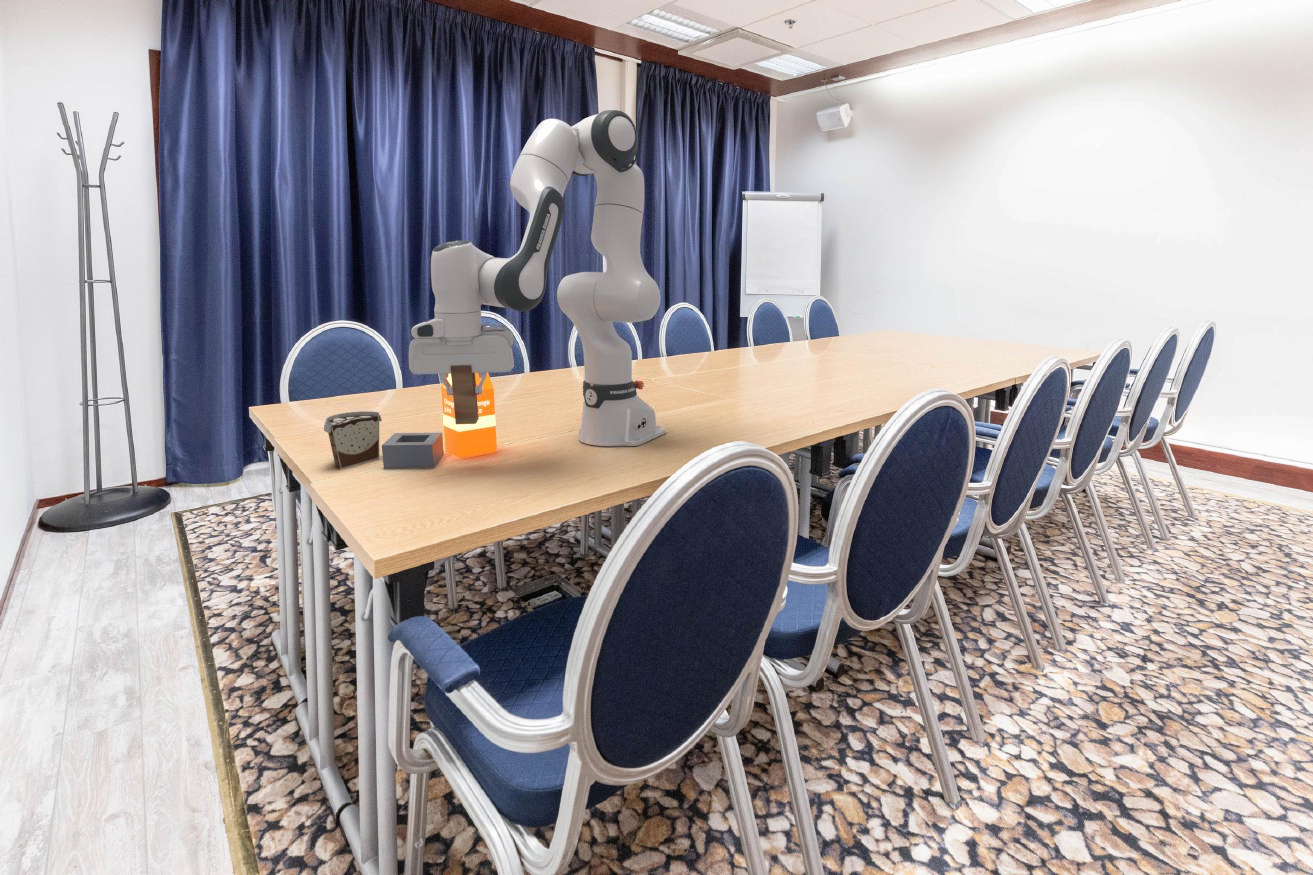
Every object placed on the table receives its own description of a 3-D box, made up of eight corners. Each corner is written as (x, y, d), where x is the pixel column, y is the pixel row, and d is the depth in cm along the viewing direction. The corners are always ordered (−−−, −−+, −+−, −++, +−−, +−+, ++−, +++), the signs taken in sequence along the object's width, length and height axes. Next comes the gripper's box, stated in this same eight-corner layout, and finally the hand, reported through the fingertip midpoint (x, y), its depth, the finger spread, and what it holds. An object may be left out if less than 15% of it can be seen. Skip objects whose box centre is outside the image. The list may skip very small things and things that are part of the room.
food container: (366, 452, 153) (362, 408, 150) (385, 456, 150) (381, 411, 147) (315, 466, 142) (309, 419, 140) (334, 471, 139) (328, 423, 137)
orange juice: (445, 451, 154) (438, 362, 149) (481, 444, 160) (476, 358, 155) (460, 458, 149) (455, 366, 144) (497, 451, 154) (493, 362, 149)
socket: (396, 455, 151) (394, 433, 150) (443, 454, 152) (442, 432, 150) (383, 468, 141) (381, 445, 140) (433, 468, 142) (432, 444, 141)
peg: (459, 419, 143) (454, 362, 140) (478, 418, 144) (474, 361, 141) (455, 424, 140) (450, 365, 136) (475, 423, 140) (471, 365, 137)
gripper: (514, 323, 140) (518, 389, 144) (410, 325, 138) (417, 392, 142) (510, 327, 134) (515, 396, 138) (402, 329, 132) (410, 399, 136)
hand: (465, 394), depth 140 cm, fingers closed on peg, 4 cm apart
